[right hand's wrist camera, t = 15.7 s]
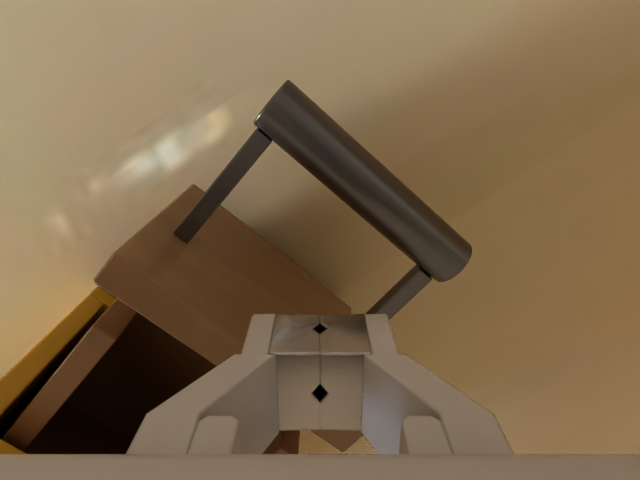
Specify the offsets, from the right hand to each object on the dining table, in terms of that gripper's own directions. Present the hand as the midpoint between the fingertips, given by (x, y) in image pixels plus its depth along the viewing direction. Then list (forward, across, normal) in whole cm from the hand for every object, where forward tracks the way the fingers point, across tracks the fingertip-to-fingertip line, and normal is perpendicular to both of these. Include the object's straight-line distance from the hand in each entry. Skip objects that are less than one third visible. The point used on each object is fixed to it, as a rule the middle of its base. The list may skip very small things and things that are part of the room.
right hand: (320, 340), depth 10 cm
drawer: (+10, -4, -5) cm, 12 cm away
